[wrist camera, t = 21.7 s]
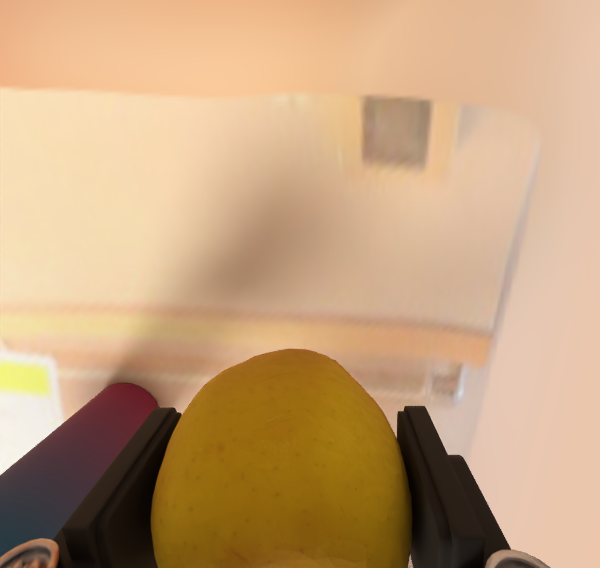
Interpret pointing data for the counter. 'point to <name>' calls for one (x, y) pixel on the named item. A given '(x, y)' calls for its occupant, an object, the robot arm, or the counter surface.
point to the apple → (282, 473)
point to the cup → (68, 465)
